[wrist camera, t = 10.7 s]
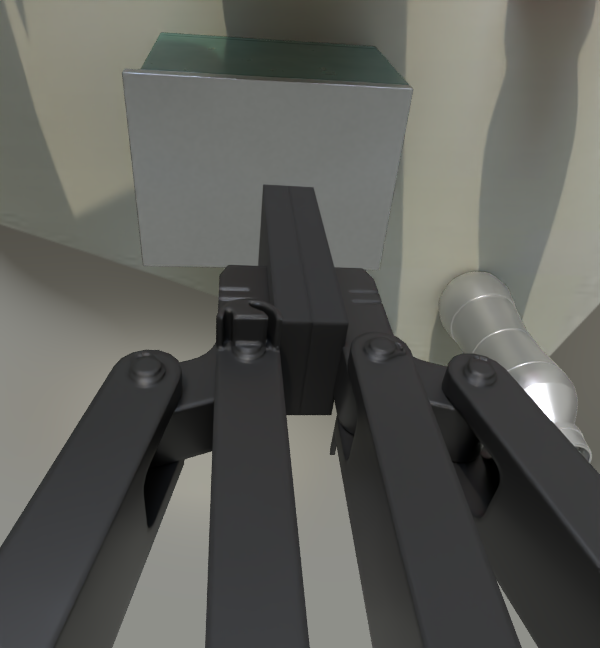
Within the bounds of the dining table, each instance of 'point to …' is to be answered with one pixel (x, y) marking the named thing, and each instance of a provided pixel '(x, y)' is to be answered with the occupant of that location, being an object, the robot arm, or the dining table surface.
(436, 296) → the dining table surface
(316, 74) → the tin
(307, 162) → the lid
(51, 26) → the dining table surface
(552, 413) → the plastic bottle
